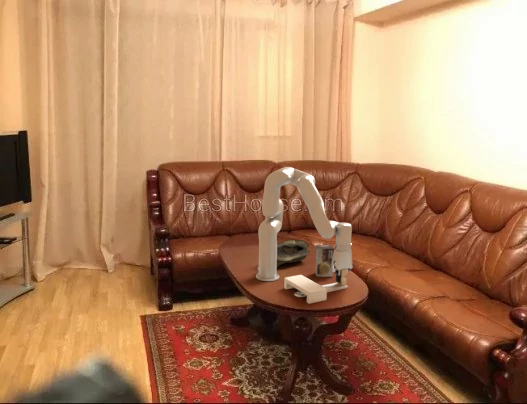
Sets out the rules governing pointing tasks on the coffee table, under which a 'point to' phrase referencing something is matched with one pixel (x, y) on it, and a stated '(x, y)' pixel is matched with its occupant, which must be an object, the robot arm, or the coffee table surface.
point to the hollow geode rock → (291, 251)
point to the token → (300, 294)
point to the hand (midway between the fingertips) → (341, 281)
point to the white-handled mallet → (338, 285)
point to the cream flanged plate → (306, 288)
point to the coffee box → (324, 260)
